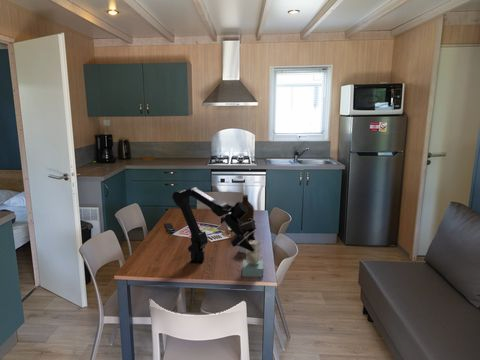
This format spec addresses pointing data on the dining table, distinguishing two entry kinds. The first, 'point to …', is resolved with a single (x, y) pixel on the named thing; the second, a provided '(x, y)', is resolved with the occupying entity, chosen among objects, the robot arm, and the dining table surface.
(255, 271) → the base block
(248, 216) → the olive oil
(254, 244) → the cream block
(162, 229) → the dining table surface
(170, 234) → the dining table surface
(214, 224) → the dining table surface
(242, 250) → the small box
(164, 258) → the dining table surface
